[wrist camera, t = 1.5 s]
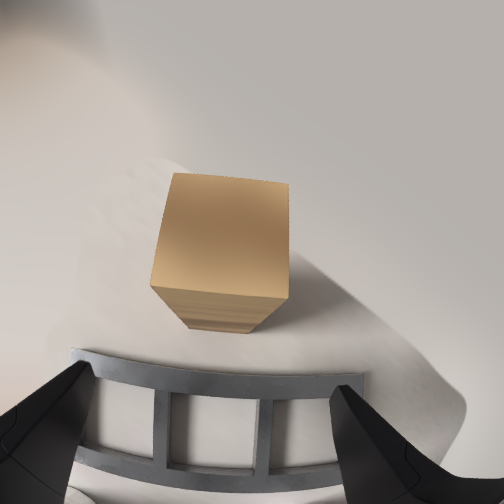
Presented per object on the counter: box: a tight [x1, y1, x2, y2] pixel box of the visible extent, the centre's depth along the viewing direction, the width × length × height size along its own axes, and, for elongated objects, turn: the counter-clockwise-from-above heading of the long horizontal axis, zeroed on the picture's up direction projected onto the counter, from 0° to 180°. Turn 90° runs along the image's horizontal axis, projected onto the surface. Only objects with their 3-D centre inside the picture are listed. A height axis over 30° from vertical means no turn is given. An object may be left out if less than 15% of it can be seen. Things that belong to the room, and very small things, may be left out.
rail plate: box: [70, 348, 364, 493], centre depth 17 cm, size 10×23×2 cm, turn 87°
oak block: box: [150, 173, 289, 334], centre depth 16 cm, size 4×4×13 cm
